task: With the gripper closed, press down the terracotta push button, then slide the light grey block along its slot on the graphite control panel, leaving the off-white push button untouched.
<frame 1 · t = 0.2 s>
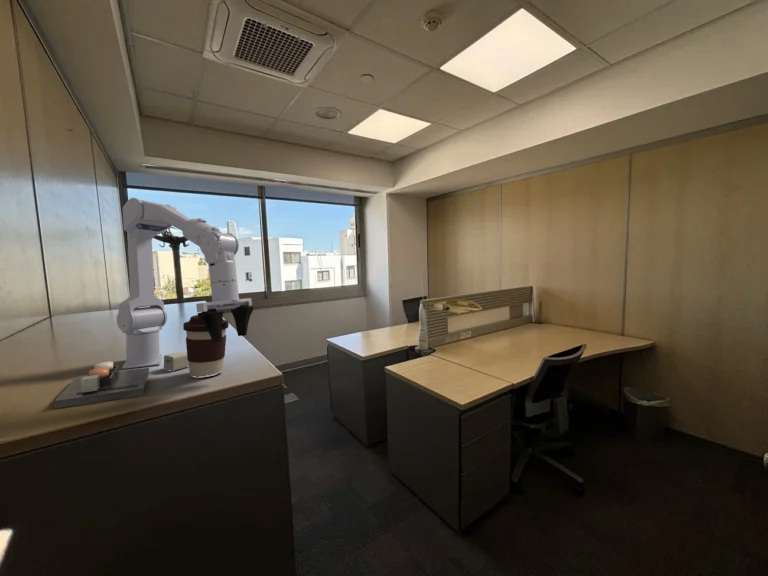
hand: (230, 338, 74), 10 cm above the table, tool pointing down, fingers open, 7 cm apart
control panel: (108, 388, 68), on the table
terracotta button: (99, 373, 67), point 4 cm above the table, slide at 0.0 cm
light grey block: (90, 383, 62), point 3 cm above the table, slide at 0.0 cm
off-white button: (104, 366, 71), point 4 cm above the table, slide at 0.0 cm
usb wall charger: (182, 368, 84), on the table
coffee cup: (206, 374, 79), on the table
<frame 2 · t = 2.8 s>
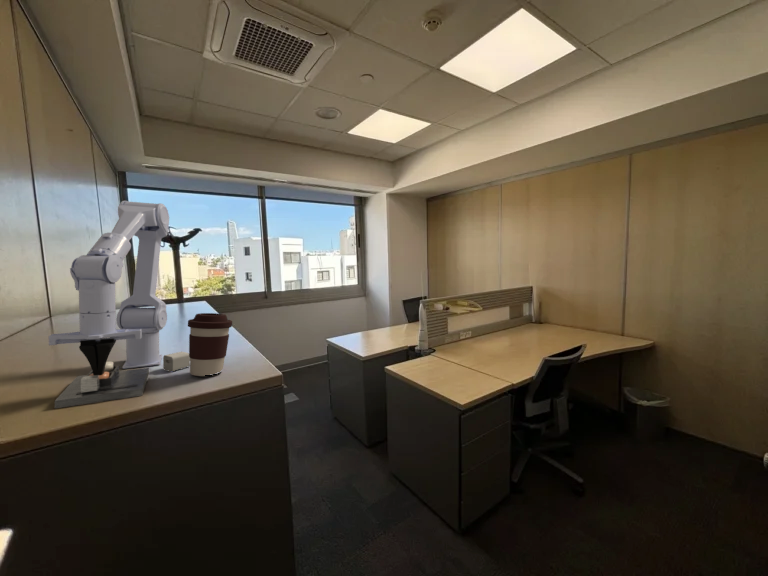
hand: (99, 374, 67), 3 cm above the table, tool pointing down, fingers closed, pressing on terracotta button
terracotta button: (99, 377, 67), point 3 cm above the table, slide at 0.9 cm, touching gripper
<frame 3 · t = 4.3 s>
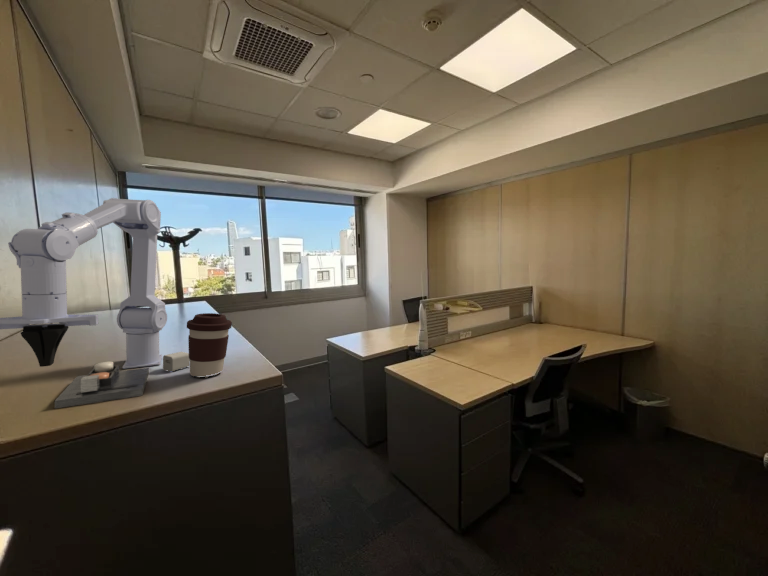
hand: (46, 364, 59), 8 cm above the table, tool pointing down, fingers closed
terracotta button: (99, 378, 67), point 3 cm above the table, slide at 1.0 cm
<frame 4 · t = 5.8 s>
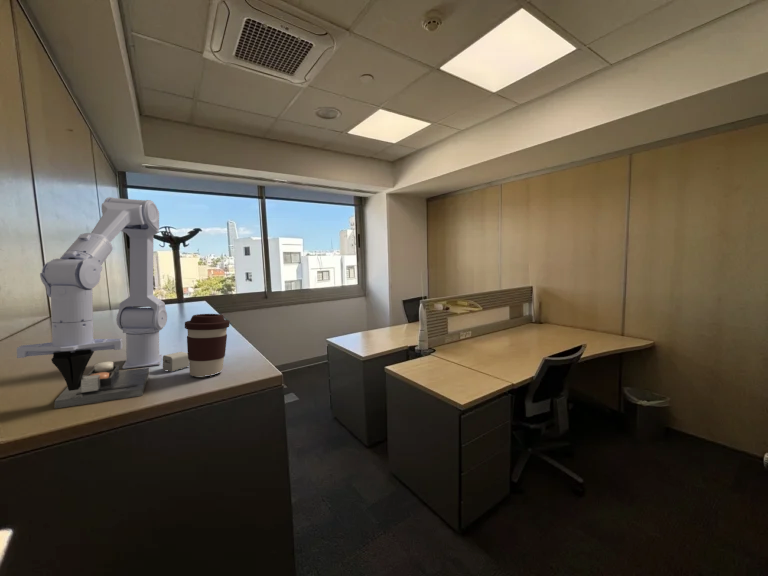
hand: (74, 388, 61), 3 cm above the table, tool pointing down, fingers closed
light grey block: (90, 383, 63), point 3 cm above the table, slide at 0.1 cm, touching gripper
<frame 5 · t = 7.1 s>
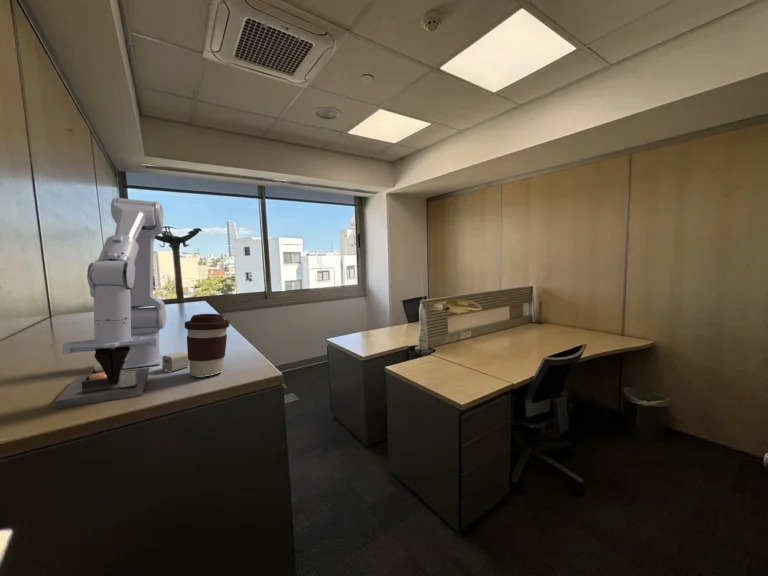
hand: (114, 383, 65), 3 cm above the table, tool pointing down, fingers closed
light grey block: (128, 378, 66), point 3 cm above the table, slide at 6.0 cm, touching gripper
everything else where it was.
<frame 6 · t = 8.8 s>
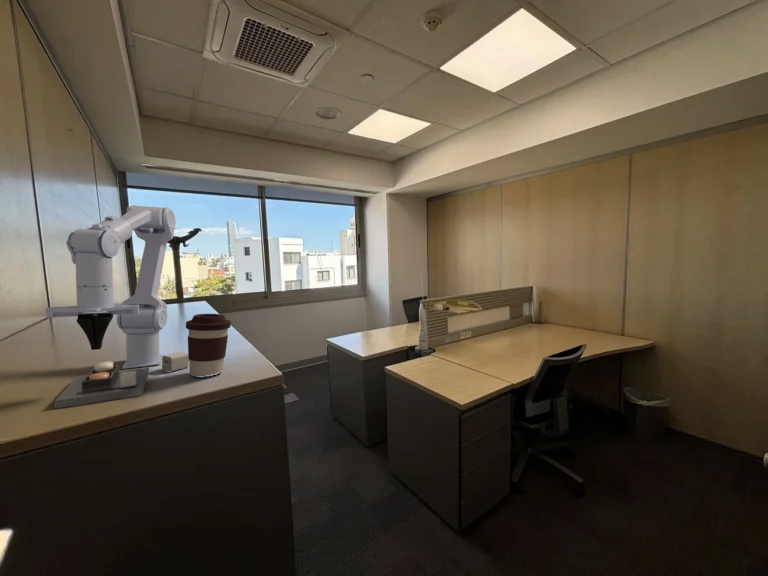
hand: (96, 348, 67), 9 cm above the table, tool pointing down, fingers closed
light grey block: (128, 378, 66), point 3 cm above the table, slide at 6.0 cm
everything else where it was.
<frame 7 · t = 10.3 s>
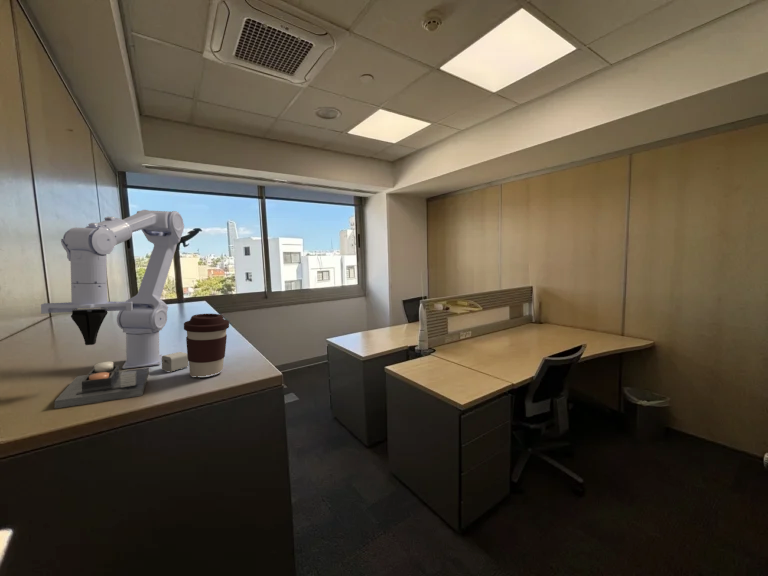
hand: (90, 344, 69), 9 cm above the table, tool pointing down, fingers closed
nothing on the table moved.
at the end: terracotta button slide at 1.0 cm; light grey block slide at 6.0 cm; off-white button slide at 0.0 cm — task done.
